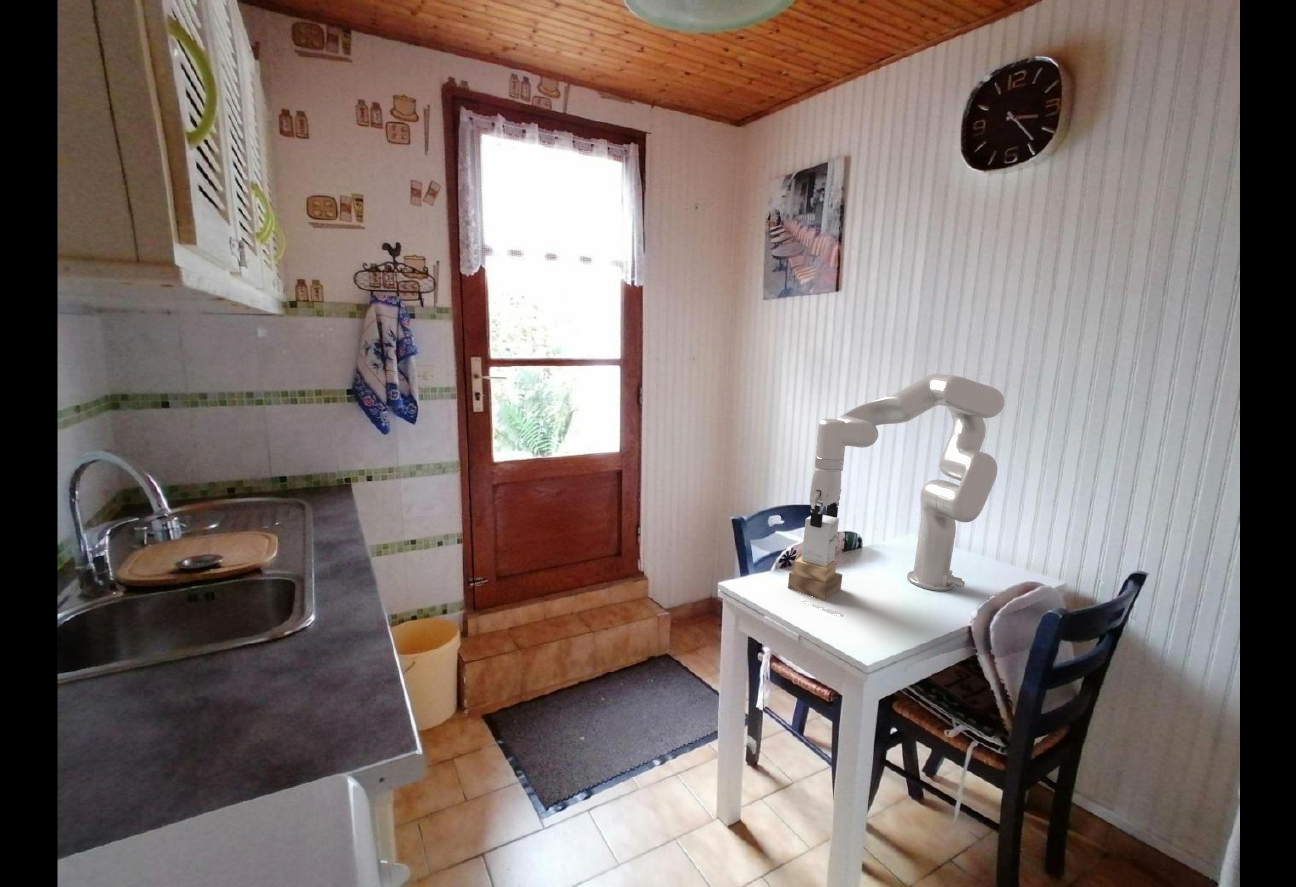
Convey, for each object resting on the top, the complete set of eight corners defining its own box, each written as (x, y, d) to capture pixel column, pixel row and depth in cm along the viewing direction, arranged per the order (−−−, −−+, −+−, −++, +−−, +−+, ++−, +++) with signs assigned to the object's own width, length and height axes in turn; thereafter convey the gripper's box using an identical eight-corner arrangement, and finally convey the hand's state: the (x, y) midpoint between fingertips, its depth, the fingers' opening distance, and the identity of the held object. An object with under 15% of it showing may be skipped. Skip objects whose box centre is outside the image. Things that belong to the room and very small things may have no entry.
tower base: (840, 590, 162) (842, 574, 161) (823, 602, 153) (825, 585, 153) (805, 578, 169) (806, 563, 168) (787, 589, 161) (789, 572, 160)
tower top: (835, 573, 161) (836, 560, 160) (824, 583, 154) (826, 569, 153) (804, 565, 166) (806, 552, 166) (793, 574, 159) (794, 560, 158)
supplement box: (826, 567, 154) (830, 524, 152) (800, 560, 159) (804, 517, 156) (835, 560, 160) (840, 518, 158) (810, 553, 165) (814, 512, 162)
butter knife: (840, 617, 144) (845, 614, 146) (759, 587, 160) (764, 584, 162) (840, 619, 144) (844, 615, 146) (759, 589, 160) (764, 586, 162)
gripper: (829, 457, 164) (824, 513, 167) (801, 465, 151) (796, 526, 154) (855, 461, 159) (849, 519, 162) (828, 470, 146) (822, 533, 149)
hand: (823, 522), depth 158 cm, fingers open, 9 cm apart
